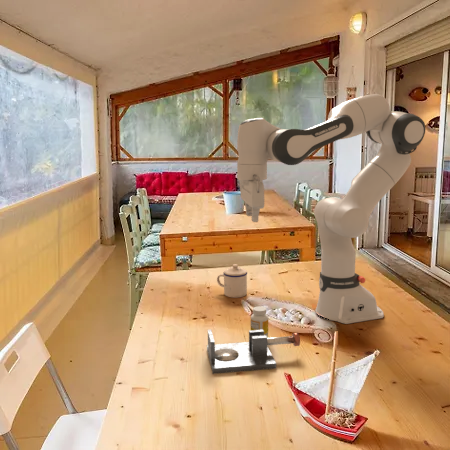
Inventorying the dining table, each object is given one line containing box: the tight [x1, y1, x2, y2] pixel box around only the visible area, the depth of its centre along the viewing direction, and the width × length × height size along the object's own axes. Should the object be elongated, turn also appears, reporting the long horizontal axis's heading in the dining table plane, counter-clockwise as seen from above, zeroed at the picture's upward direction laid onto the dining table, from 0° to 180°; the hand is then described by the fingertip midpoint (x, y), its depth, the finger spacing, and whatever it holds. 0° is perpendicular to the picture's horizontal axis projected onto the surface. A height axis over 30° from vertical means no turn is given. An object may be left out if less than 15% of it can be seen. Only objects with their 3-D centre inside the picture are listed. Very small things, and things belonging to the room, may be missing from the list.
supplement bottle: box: [250, 305, 269, 338], centre depth 148 cm, size 5×5×10 cm
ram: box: [267, 332, 301, 347], centre depth 137 cm, size 13×4×4 cm, turn 98°
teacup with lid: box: [216, 263, 248, 299], centre depth 188 cm, size 12×9×12 cm
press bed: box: [206, 329, 277, 375], centre depth 136 cm, size 17×14×8 cm
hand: (252, 218), depth 151 cm, fingers open, 8 cm apart
